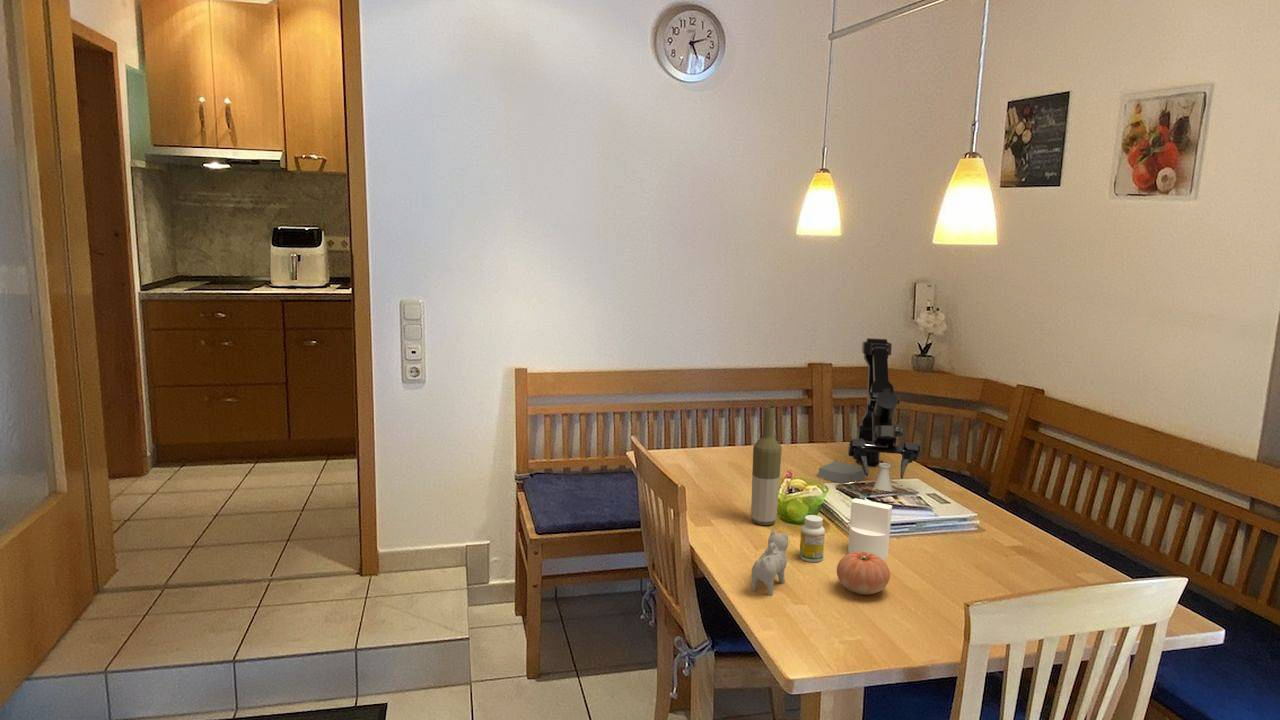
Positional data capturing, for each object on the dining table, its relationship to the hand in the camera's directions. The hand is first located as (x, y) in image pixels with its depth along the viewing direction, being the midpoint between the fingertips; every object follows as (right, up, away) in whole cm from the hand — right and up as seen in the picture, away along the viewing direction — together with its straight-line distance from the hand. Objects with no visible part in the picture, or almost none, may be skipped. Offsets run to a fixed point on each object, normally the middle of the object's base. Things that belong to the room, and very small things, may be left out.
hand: (884, 476), depth 230 cm
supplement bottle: (-28, -13, -38) cm, 49 cm away
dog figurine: (-39, -16, -51) cm, 67 cm away
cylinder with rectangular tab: (-14, -13, -34) cm, 39 cm away
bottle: (-36, -9, -17) cm, 40 cm away
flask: (0, -7, +3) cm, 7 cm away
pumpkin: (-20, -16, -53) cm, 59 cm away
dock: (-7, -3, +20) cm, 21 cm away
